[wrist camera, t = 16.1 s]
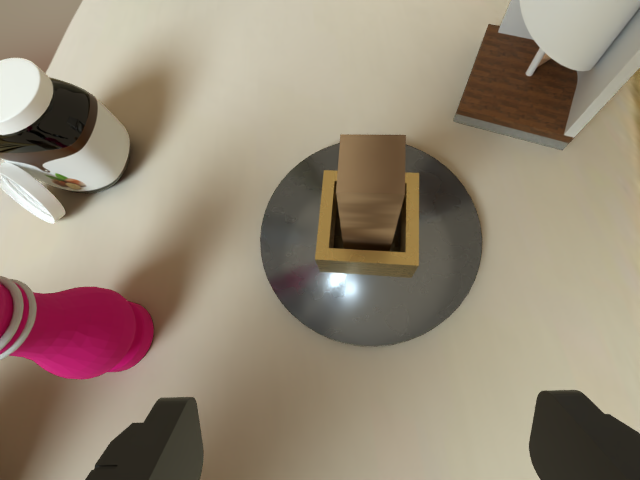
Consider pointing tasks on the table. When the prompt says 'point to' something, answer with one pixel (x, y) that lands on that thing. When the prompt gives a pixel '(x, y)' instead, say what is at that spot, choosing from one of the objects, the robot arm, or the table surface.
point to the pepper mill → (73, 329)
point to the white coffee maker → (551, 68)
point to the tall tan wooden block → (370, 189)
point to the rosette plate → (371, 254)
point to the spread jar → (54, 139)
